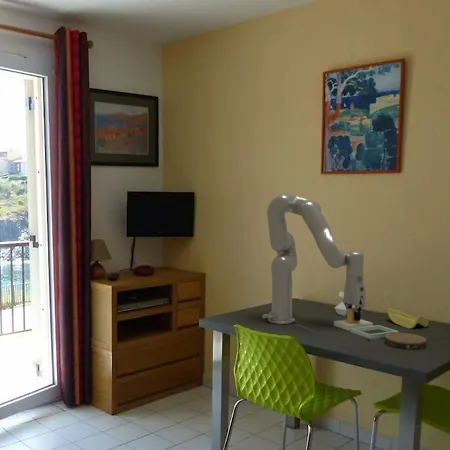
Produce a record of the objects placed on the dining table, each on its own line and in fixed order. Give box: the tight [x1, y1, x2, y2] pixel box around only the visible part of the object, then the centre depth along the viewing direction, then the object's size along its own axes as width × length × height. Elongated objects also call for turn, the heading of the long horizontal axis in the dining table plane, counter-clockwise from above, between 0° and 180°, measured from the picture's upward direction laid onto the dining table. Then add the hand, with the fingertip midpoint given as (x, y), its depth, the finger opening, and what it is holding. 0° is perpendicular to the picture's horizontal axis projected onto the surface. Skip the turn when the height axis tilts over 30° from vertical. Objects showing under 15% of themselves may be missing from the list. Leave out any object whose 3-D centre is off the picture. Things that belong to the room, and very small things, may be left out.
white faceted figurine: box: [334, 291, 355, 316], centre depth 267 cm, size 8×14×14 cm, turn 36°
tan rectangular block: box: [346, 308, 360, 323], centre depth 238 cm, size 5×3×8 cm, turn 117°
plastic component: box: [387, 304, 430, 330], centre depth 250 cm, size 20×7×10 cm
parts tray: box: [349, 324, 400, 342], centre depth 227 cm, size 16×12×2 cm
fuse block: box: [333, 318, 374, 331], centre depth 239 cm, size 14×10×3 cm
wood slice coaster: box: [384, 332, 427, 351], centre depth 214 cm, size 16×16×3 cm
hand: (353, 319), depth 238 cm, fingers open, 4 cm apart
